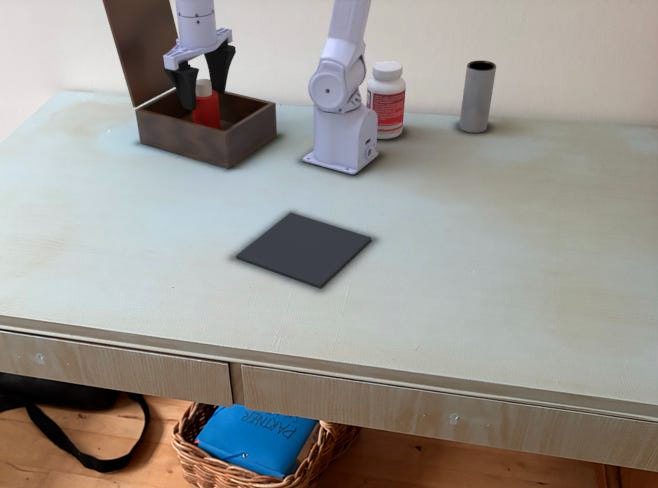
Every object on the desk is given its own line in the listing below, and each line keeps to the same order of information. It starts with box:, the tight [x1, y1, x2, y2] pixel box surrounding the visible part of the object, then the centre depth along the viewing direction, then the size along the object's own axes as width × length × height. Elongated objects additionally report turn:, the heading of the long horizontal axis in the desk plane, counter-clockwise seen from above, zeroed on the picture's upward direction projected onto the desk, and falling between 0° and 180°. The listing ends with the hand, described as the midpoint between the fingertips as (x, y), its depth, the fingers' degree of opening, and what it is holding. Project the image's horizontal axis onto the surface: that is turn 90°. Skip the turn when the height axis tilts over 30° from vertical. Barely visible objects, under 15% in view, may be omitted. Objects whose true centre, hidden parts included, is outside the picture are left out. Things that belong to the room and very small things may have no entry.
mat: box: [235, 212, 372, 289], centre depth 99 cm, size 13×13×1 cm
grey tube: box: [459, 59, 497, 134], centre depth 122 cm, size 4×4×10 cm
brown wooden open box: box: [134, 88, 278, 170], centre depth 124 cm, size 19×14×6 cm
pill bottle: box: [365, 60, 407, 140], centre depth 122 cm, size 6×6×11 cm
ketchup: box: [192, 78, 221, 130], centre depth 122 cm, size 4×4×9 cm
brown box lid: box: [101, 0, 179, 109], centre depth 121 cm, size 19×14×4 cm
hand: (204, 100), depth 121 cm, fingers open, 7 cm apart
